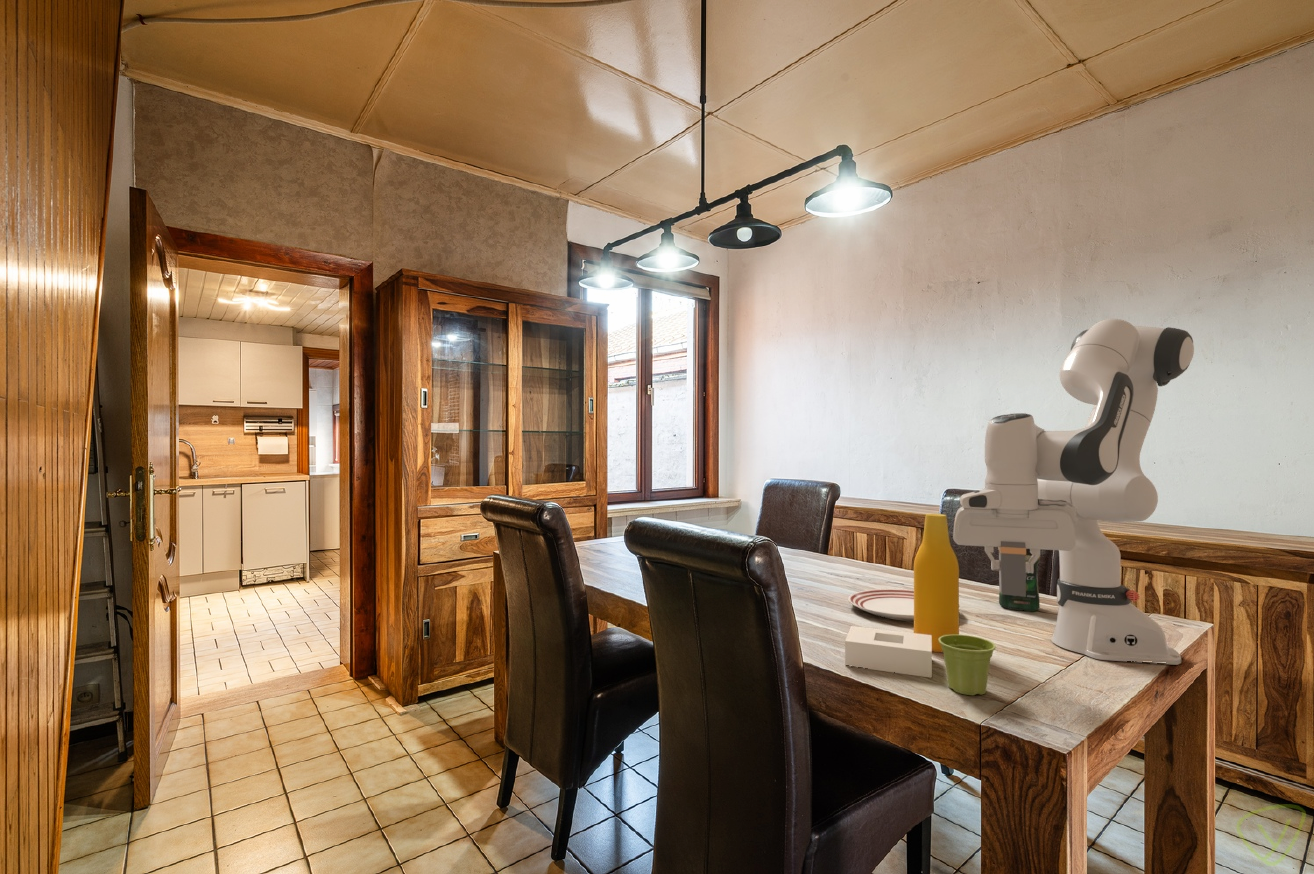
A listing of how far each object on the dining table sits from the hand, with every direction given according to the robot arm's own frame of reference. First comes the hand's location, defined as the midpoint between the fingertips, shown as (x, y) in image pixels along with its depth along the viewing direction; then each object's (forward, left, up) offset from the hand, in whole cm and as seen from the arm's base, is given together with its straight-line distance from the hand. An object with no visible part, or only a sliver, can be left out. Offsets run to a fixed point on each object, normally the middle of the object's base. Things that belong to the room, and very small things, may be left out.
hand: (1012, 571), depth 119 cm
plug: (0, 0, -4) cm, 4 cm away
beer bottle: (+13, -15, -21) cm, 29 cm away
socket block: (+22, 0, -21) cm, 30 cm away
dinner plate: (+21, -42, -21) cm, 51 cm away
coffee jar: (-8, -58, -21) cm, 62 cm away
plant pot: (+8, +9, -21) cm, 24 cm away
